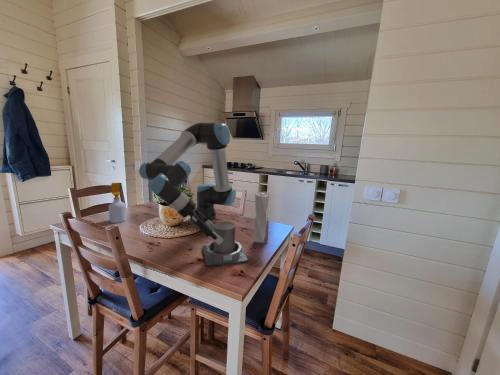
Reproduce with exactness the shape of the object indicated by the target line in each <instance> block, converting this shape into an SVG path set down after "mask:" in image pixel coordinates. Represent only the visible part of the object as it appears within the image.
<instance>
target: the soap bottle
mask: <svg viewBox="0 0 500 375" xmlns="http://www.w3.org/2000/svg"><path fill="white" fill-rule="evenodd" d="M110 187H111V194H112V195H113V196H114V197H113V201H112V202H110V204H109V205H108V217H109V222H110V223H113V224H119V223H123V222H126V221H127V209H126V208H127V206H126V203H125V202H123V201H121V198H120V197H119V196H120V195H121V192H120V182H111V183H110Z"/></svg>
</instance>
